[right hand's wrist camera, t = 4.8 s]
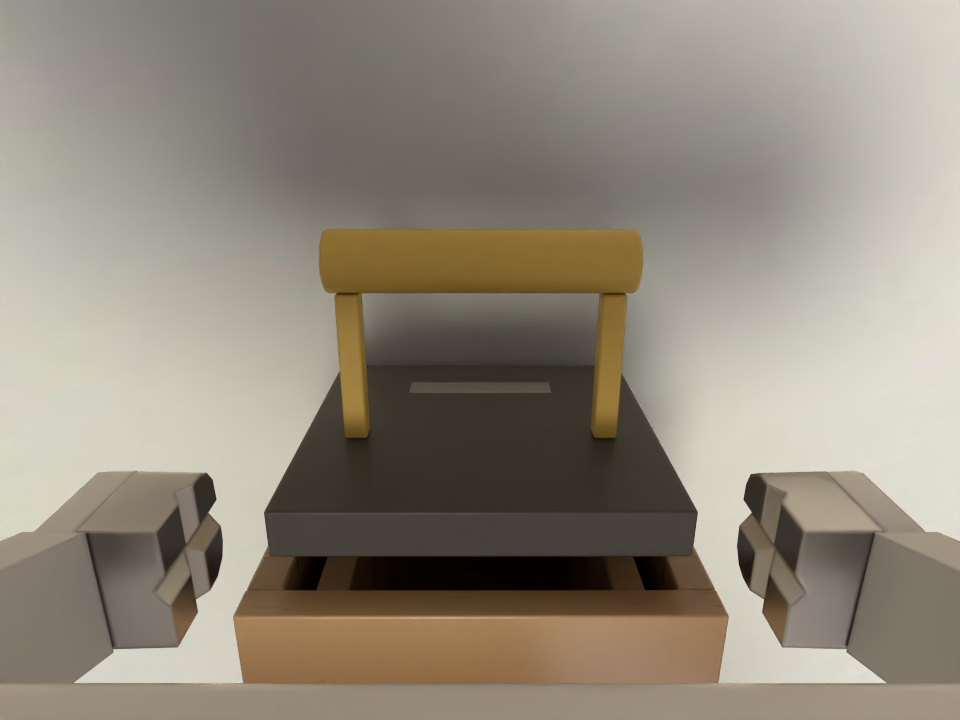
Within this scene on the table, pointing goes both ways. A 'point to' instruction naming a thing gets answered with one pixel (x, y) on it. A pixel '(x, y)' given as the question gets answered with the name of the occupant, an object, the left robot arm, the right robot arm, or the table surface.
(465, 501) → the drawer
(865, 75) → the table surface
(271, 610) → the cabinet
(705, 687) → the right robot arm
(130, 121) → the table surface
